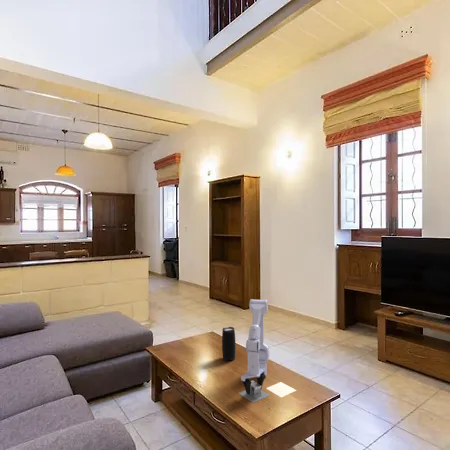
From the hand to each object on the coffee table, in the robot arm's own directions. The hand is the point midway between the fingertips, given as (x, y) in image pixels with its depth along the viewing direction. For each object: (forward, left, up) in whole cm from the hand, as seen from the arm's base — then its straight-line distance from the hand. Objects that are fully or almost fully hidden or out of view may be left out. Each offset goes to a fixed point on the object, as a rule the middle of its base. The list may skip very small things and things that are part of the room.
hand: (253, 391), depth 157 cm
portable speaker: (-44, +17, -3) cm, 47 cm away
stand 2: (+5, +14, -3) cm, 15 cm away
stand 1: (0, 0, -3) cm, 3 cm away
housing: (0, 0, -2) cm, 2 cm away
